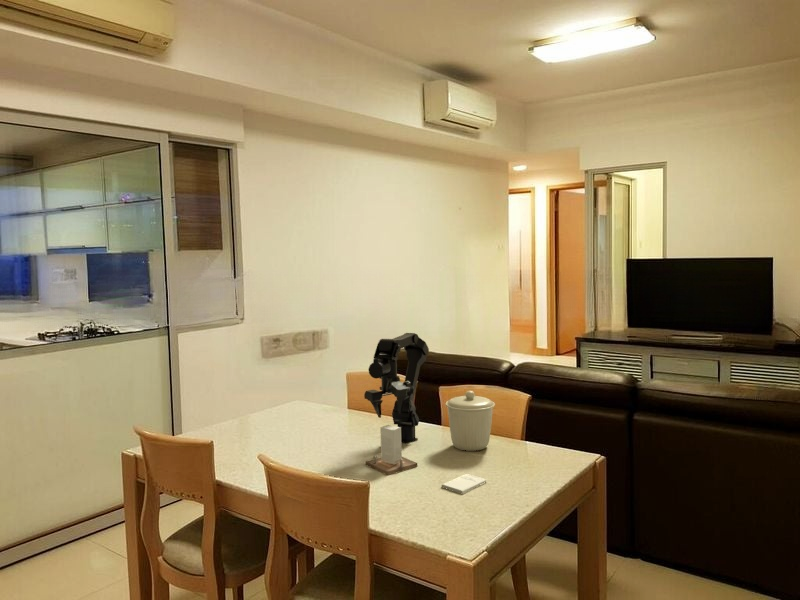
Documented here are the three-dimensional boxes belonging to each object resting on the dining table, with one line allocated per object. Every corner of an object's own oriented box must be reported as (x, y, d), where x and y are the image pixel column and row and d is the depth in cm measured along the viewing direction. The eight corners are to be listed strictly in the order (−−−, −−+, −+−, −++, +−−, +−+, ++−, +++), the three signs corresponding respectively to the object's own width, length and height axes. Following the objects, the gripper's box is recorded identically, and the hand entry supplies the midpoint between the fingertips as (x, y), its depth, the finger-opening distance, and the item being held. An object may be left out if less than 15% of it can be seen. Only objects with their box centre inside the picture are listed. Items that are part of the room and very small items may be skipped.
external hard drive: (441, 489, 188) (465, 477, 197) (462, 496, 182) (486, 484, 191) (441, 484, 188) (465, 472, 197) (462, 490, 182) (486, 478, 191)
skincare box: (402, 461, 207) (401, 427, 206) (394, 465, 204) (393, 430, 203) (388, 458, 211) (388, 424, 210) (380, 461, 208) (379, 427, 207)
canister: (458, 457, 215) (457, 398, 213) (438, 442, 232) (437, 388, 230) (503, 451, 221) (503, 393, 219) (481, 437, 238) (481, 384, 236)
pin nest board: (395, 457, 216) (395, 446, 216) (417, 466, 206) (417, 455, 206) (365, 464, 209) (365, 454, 208) (387, 475, 199) (387, 464, 198)
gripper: (380, 380, 210) (381, 424, 211) (423, 373, 221) (423, 415, 222) (363, 375, 219) (364, 418, 220) (404, 368, 230) (405, 409, 231)
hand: (390, 415), depth 223 cm, fingers open, 9 cm apart
